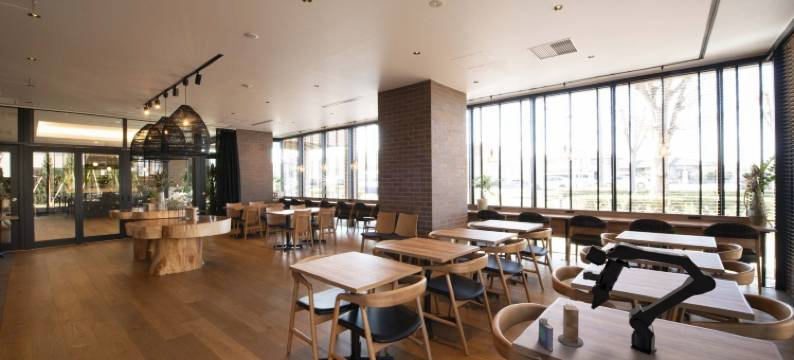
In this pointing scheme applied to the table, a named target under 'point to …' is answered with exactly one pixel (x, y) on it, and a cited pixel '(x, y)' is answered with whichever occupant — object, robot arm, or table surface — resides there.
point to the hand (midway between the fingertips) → (593, 305)
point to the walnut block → (570, 323)
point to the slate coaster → (562, 340)
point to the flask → (545, 334)
